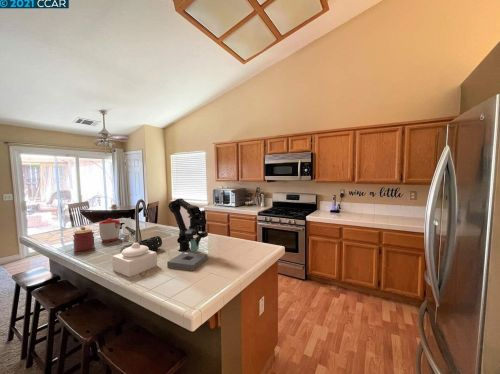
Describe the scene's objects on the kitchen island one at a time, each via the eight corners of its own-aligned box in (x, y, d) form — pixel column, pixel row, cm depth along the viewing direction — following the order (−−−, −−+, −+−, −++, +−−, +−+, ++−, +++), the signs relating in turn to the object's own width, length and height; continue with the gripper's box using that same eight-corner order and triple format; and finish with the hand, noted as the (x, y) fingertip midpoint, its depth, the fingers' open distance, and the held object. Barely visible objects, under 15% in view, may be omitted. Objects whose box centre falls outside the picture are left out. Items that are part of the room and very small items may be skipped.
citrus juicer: (115, 242, 185) (114, 219, 184) (95, 243, 185) (93, 219, 184) (126, 237, 200) (125, 216, 199) (107, 237, 201) (106, 216, 200)
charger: (190, 250, 155) (190, 239, 155) (193, 248, 159) (193, 237, 159) (195, 250, 154) (195, 239, 154) (198, 249, 158) (198, 238, 157)
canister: (69, 250, 166) (68, 228, 165) (87, 245, 178) (86, 224, 177) (80, 253, 161) (79, 229, 160) (98, 247, 173) (97, 225, 172)
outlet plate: (167, 267, 134) (167, 261, 134) (184, 256, 151) (184, 251, 151) (193, 270, 129) (193, 264, 129) (207, 259, 146) (207, 254, 146)
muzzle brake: (162, 249, 167) (162, 236, 167) (129, 262, 142) (128, 247, 142) (153, 247, 172) (153, 234, 171) (119, 260, 146) (118, 245, 146)
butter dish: (129, 277, 122) (127, 249, 121) (112, 270, 131) (111, 244, 130) (157, 266, 136) (156, 241, 136) (140, 260, 146) (139, 237, 145)
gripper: (176, 226, 151) (176, 248, 151) (200, 227, 145) (200, 250, 146) (185, 222, 161) (185, 243, 162) (208, 223, 156) (208, 245, 157)
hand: (194, 245), depth 156 cm, fingers closed on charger, 4 cm apart
